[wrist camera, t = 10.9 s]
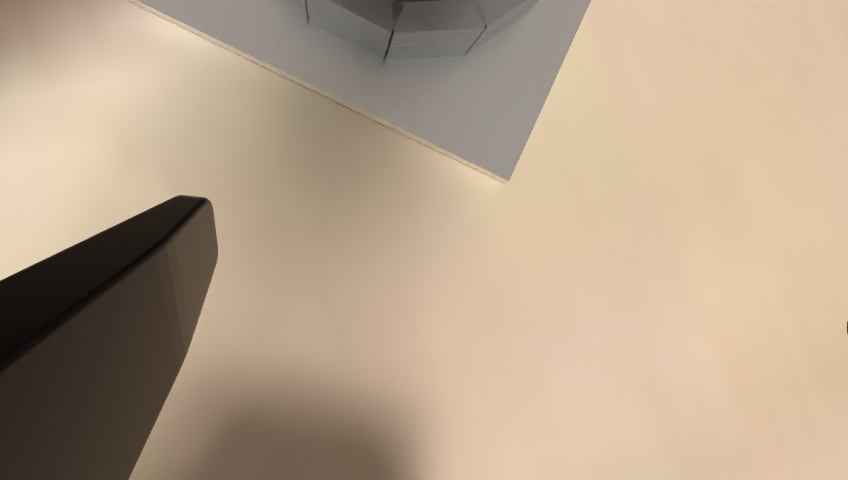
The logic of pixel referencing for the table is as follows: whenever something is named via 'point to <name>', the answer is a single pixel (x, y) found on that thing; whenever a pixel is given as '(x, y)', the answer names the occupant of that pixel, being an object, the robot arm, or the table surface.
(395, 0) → the grey cylindrical piece
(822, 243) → the table surface
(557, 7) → the duct collar
